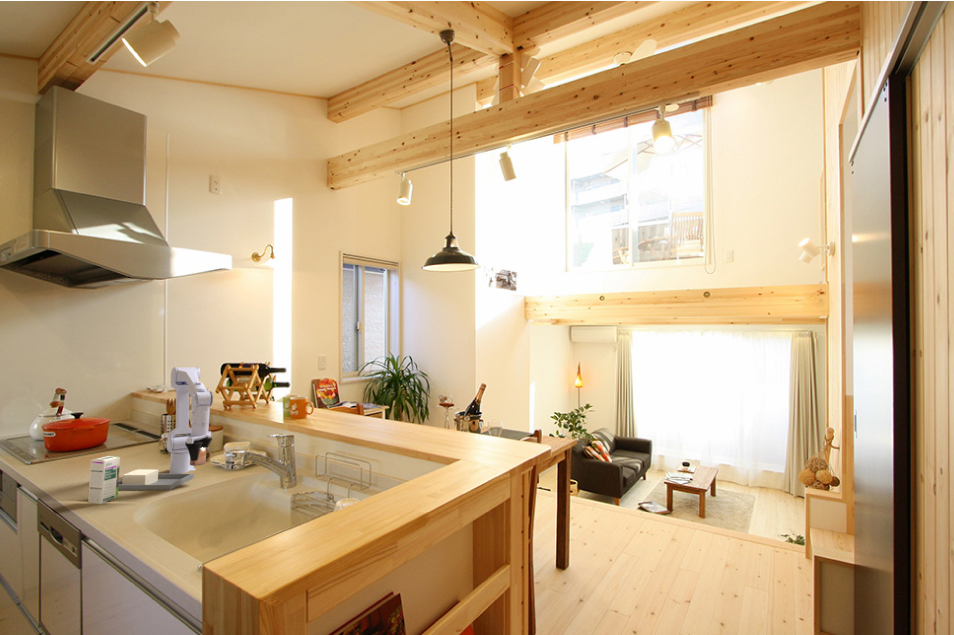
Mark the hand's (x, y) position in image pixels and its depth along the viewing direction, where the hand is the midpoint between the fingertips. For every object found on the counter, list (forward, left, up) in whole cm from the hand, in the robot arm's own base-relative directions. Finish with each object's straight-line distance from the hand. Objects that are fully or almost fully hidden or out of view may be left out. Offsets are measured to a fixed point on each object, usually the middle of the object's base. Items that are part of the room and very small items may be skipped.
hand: (197, 458), depth 180 cm
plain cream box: (+1, -20, -9) cm, 22 cm away
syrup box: (+19, -21, -10) cm, 30 cm away
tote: (+1, -15, -10) cm, 18 cm away
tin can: (0, 0, -2) cm, 2 cm away
